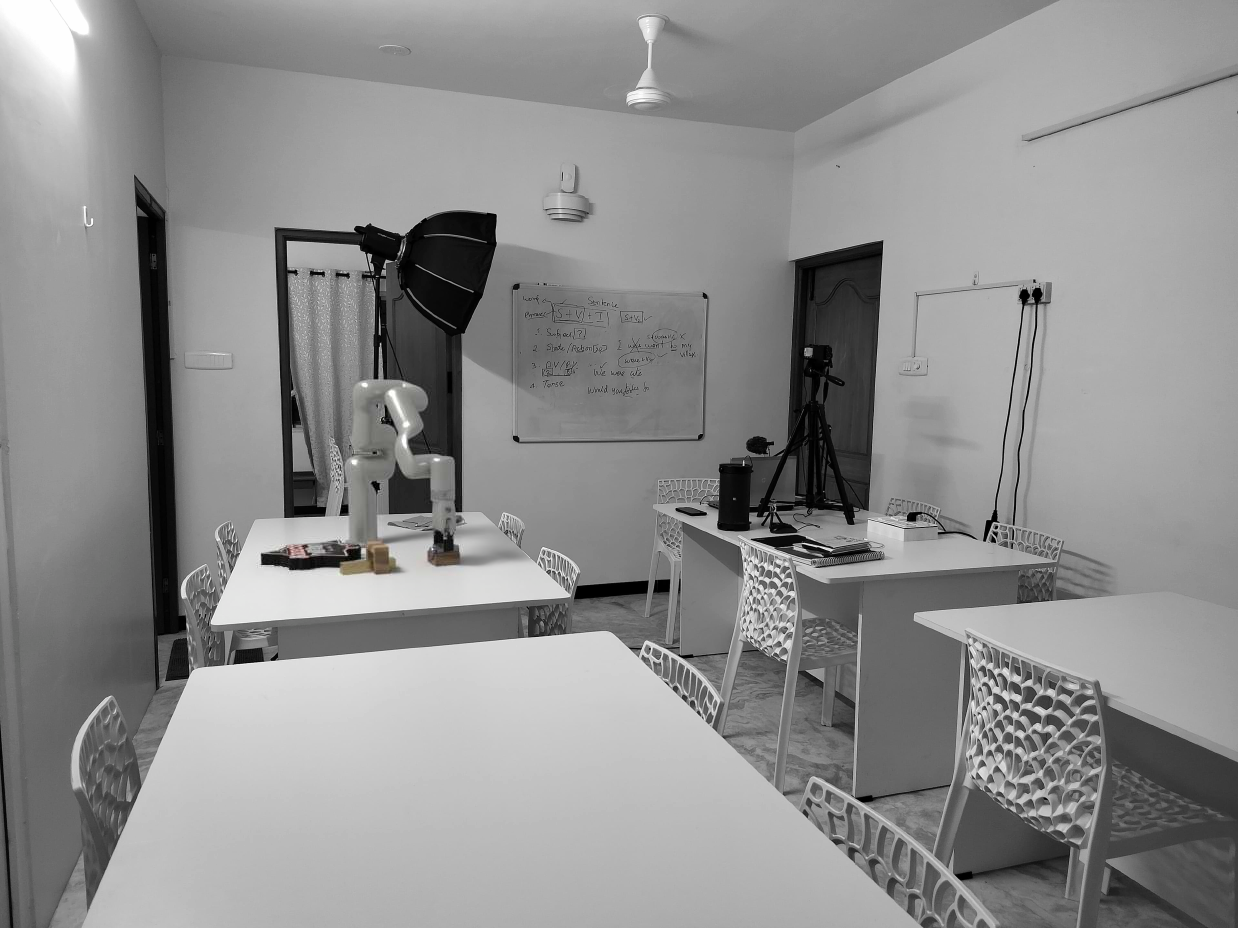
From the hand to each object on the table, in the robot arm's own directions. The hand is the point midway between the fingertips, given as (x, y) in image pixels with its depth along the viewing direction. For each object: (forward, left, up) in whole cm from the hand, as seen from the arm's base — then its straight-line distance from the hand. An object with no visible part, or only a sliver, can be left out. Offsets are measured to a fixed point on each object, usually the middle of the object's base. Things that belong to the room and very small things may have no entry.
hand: (443, 548), depth 259 cm
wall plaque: (-22, -36, -5) cm, 43 cm away
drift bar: (0, -24, -5) cm, 24 cm away
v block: (0, 0, -5) cm, 5 cm away
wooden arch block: (0, -21, -5) cm, 21 cm away
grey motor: (0, 0, -3) cm, 3 cm away
